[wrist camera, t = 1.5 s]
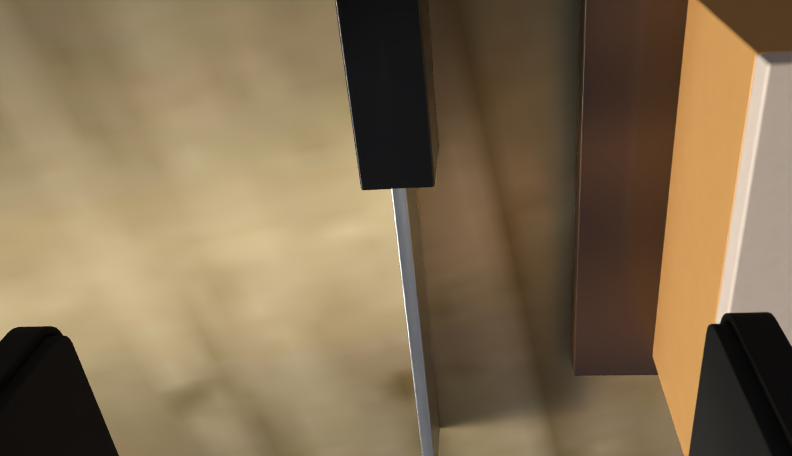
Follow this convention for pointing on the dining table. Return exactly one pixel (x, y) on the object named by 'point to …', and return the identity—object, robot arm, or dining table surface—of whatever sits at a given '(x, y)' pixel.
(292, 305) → the dining table surface
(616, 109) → the cake board
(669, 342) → the cake
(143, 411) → the dining table surface
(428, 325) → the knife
